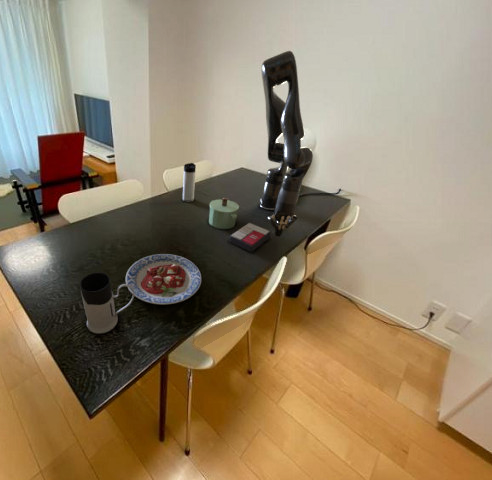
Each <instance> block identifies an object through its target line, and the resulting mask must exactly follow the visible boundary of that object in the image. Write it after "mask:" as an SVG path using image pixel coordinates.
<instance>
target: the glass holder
mask: <svg viewBox="0 0 492 480" xmlns="http://www.w3.org/2000/svg"><path fill="white" fill-rule="evenodd" d="M123 287H127V288H128V287H130V288H131V289H132V291H133V294H132V296H131V299H130V301H129V302H128V303H127V304H126V305H125V306H123V307H122V308H120V309H119V310H117V311H116V308H115V301H114V299H116V298H119V296H120V289H121V288H123ZM79 288H80V295H81V298H82V303H83V308H84V311H85V316H86V327H87V329H88V330H89V331H90V332H92V333H94V334H105V333H108V332H110V331H111V330H113V329H114V328H115V327H116V326H117V324H118V321H119V317H118V314H119V313H121V312H122V311H124V310H125V309H127V308H128V307H129V306H131V305H132V303H133V301H134V299H135V296H134V288H133V287H132V286H131V285H128V284H126V283H122V284H121V285H119V286H118V288H117V291H116V294H115V295H114V293H113V291H112V283H111V278H110V276H109V275H108V274H106V273H105V272H98V271H97V272H92V273H89V274H87V275H85V276H84V277H83V278H82V279H81V280H80V282H79Z"/></svg>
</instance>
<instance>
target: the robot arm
mask: <svg viewBox="0 0 492 480" xmlns="http://www.w3.org/2000/svg"><path fill="white" fill-rule="evenodd" d="M297 66H298V65H297V60H296V56H295V54H294V52H293V51H291V50H287V51H284V52H281V53H279V54H277V55H273V56H272V57H269V58H267V59H265V60H264V61H262V63H261V80H262V87H263V94H264V101H265V103H264V104H265V121H266V129H267V130H266V131H267V160H269V161H270V162H272V163H276V164H280V165H279V166H276V167H270V168H268V169H267V171H266V176H265V180H264V185H263V190H262V195H261V198H260V200H259V201H260V203H259V207H260V208H261V209H264V210H266V211H274V212H273V214H272V215H271V216H270V215H268V216H267V220H268V222H269V223H270V225H271V226H272V227H273V229H274V232H273V233H274V235H275V236H276V237H281V236H282V235H283V232H284V230H285V229H288V228H289V227H290V226H291V225H292V224H294V223H295V222H296V221H297V220H298V217H297V215H295V212H296V211H295V210H296V207H297V204H298V200H299V197H301V196H305V195H306V196H307V195H333V196H334V195H338V194H339V193H340V192H341V191H342V188H339V190H338V191H337V192H306V193H305V192H303V193H300V191H301V188H302V185H303V181H304V178H305V177H306V175H307V173H308V171H309V169H310V167H311V166H312V164H313V163H312V162H313V158H314V153H313V151H312V149H311V148H309V147H307V146H302V140H303V139H304V138H305V128H304V123H303V118H302V113H301V105H300V104H301V103H300V89H299V78H298V67H297ZM286 83H287V87H288V91H287V97H286V101H284V100H283V99H282V98H281V97H280V96H278V94H277V93H276V92H275V90H274V88H275V87H278V86H280V85H283V84H286ZM281 136H282V137H283V142H279V141H278V139H279V138H280V137H281ZM288 169H289V171H288Z"/></svg>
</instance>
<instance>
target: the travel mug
mask: <svg viewBox="0 0 492 480" xmlns="http://www.w3.org/2000/svg"><path fill="white" fill-rule="evenodd" d="M196 167H197V166H196V164H195V163H193V162H190V163H189V162H188V163H185V164H184V165H183V178H182V179H183V180H182V201H183V202H185V203H191V202H194V201H195V184H196V169H197V168H196Z"/></svg>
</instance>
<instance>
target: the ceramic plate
mask: <svg viewBox="0 0 492 480" xmlns="http://www.w3.org/2000/svg"><path fill="white" fill-rule="evenodd" d="M125 284H128V285H131V286H132V287H133V288H134V298H137V299H139V300H141V301H143V302H145V303H148V304H153V305H161V306H163V305H165V306H166V305H172V304H173V305H174V304H178V303H182V302H184V301H186V300H188V299H190V298H191V297H192V296H194V295H195V294H196V293H197V292H198V290H199V289H200V287H201V284H202V274H201V271H200V269H199V268H198V267H197V265H196V264H195V263H194V262H192V261H191V260H189V259H188V258H185V257H183V256H180V255H177V254H170V253H159V254H158V253H157V254H152V255H148V256H145V257H142V258H140V259H139V260H137V261H135V262H134V263H133V264H132V265H131V266H130V267H129V268H128V269H127V272H126V275H125ZM127 289H128V291H129V292H130V294H132V295H133V291H132V289H131V288H130V287H127Z"/></svg>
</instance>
